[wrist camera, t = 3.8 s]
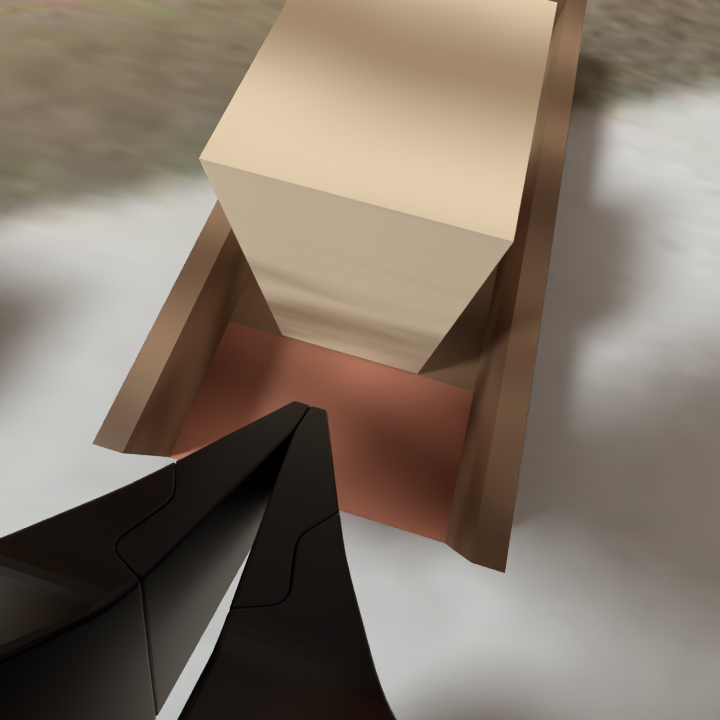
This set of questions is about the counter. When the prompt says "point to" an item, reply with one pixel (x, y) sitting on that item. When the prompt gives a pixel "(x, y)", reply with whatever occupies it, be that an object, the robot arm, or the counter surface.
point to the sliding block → (381, 164)
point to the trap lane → (371, 367)
